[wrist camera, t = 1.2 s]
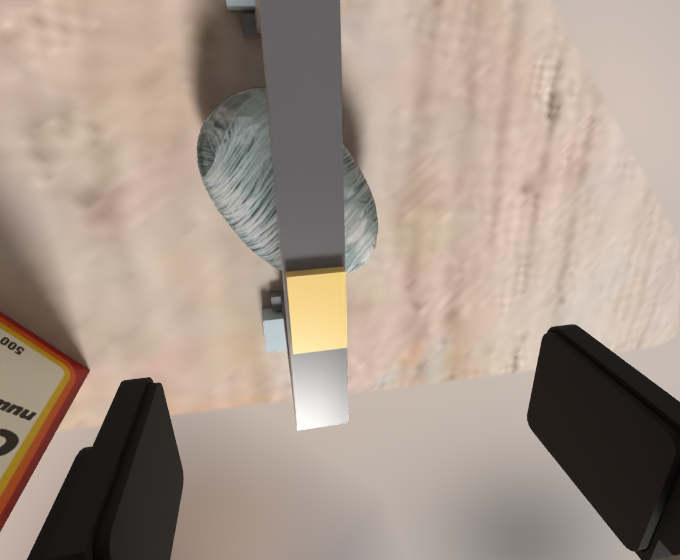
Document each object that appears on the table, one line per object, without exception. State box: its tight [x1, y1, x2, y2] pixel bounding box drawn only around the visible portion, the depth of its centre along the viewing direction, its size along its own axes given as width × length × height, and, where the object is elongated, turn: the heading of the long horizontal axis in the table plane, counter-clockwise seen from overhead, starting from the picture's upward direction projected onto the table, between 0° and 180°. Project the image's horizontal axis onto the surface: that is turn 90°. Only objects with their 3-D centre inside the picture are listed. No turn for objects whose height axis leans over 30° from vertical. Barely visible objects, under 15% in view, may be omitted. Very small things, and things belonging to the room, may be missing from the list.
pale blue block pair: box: [226, 0, 287, 352], centre depth 31 cm, size 27×6×2 cm, turn 1°
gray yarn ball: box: [197, 87, 378, 274], centre depth 29 cm, size 14×10×10 cm
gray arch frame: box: [242, 0, 349, 430], centre depth 25 cm, size 21×4×15 cm, turn 1°
